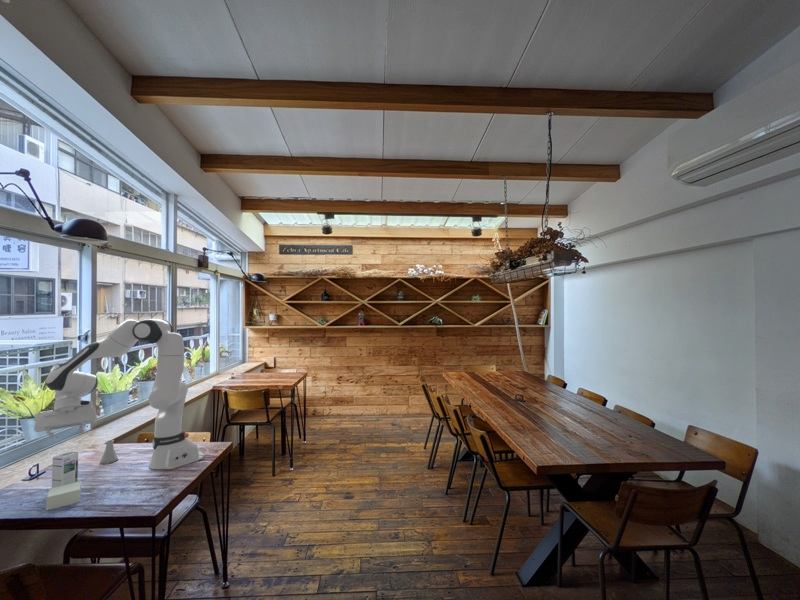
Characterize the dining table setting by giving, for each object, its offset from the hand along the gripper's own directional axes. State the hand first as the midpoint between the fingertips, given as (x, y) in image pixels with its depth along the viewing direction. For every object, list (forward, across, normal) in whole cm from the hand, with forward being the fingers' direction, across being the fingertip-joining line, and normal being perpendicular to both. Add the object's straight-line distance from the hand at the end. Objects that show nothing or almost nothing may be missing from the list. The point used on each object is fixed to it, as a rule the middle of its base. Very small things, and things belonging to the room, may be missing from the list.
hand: (66, 434), depth 151 cm
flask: (+6, +16, +22) cm, 28 cm away
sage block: (+32, 0, -4) cm, 32 cm away
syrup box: (+22, 0, +6) cm, 23 cm away
